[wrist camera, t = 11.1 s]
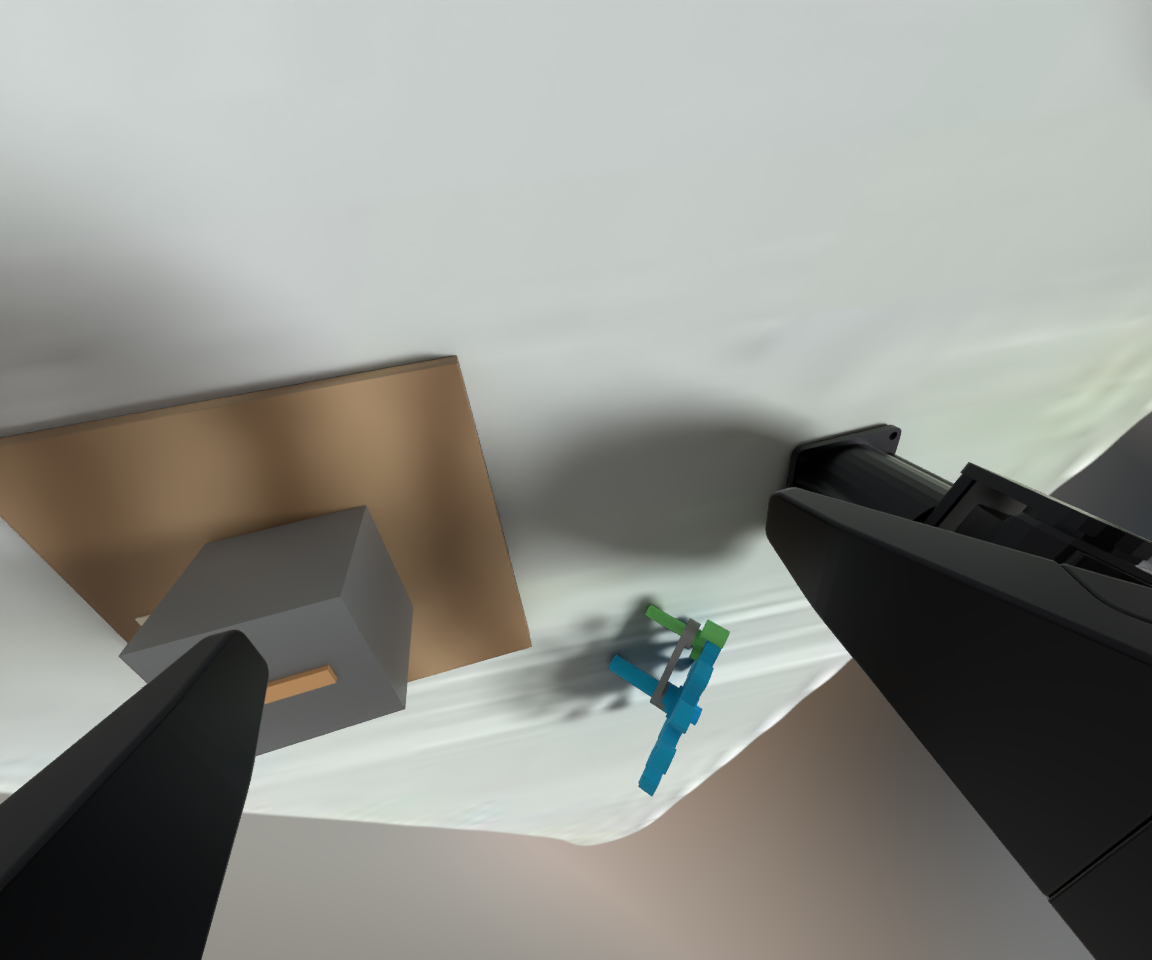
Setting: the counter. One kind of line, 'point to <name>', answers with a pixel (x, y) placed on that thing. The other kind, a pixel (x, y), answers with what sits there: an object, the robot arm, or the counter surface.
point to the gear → (674, 688)
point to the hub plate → (279, 498)
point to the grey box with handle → (296, 622)
